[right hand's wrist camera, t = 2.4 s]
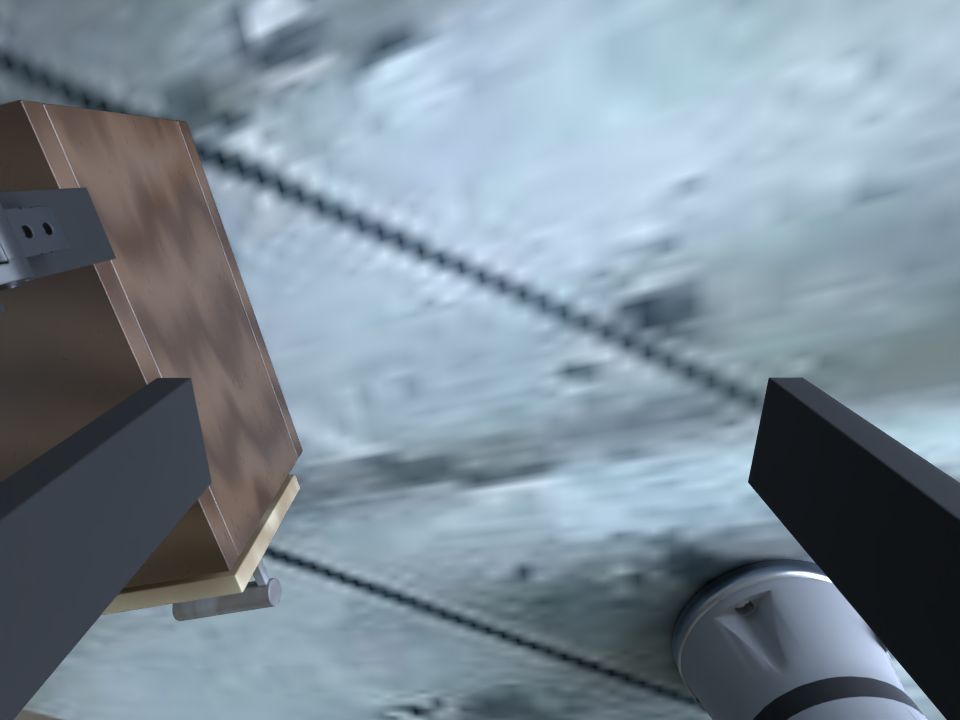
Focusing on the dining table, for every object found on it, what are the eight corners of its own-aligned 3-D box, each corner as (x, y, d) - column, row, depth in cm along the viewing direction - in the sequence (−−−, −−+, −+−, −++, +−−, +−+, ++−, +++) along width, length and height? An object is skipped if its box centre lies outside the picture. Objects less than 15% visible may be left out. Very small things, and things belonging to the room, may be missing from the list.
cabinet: (303, 451, 38) (230, 571, 27) (155, 477, 39) (25, 604, 28) (186, 121, 31) (20, 99, 20) (7, 161, 32) (-253, 162, 20)
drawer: (322, 549, 40) (275, 667, 31) (196, 570, 41) (113, 691, 31) (191, 190, 31) (70, 202, 22) (32, 224, 32) (-151, 250, 23)
